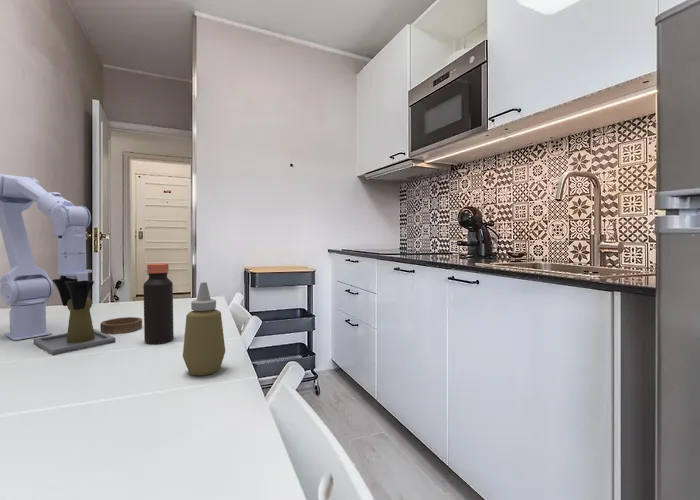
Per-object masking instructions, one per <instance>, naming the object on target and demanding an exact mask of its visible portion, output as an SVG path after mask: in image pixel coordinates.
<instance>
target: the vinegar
mask: <svg viewBox="0 0 700 500" xmlns="http://www.w3.org/2000/svg"><path fill="white" fill-rule="evenodd" d="M169 266H170V265H169V263H164V262H163V263H148V264H146V269H147V270H146V271H147V276H148V279H147V280H146V281H145V282H144V283H143V285H142V286H143V287H142V288H143V330H144V331H143V334H144V335H143V336H144V337H143V338H144V343H146V344H147V345H159V344H165V343H169V342H171V341H173V340H174V337H175V336H174V334H175V333H174V298H173V297H174V294H173V293H174V289H173V288H174V287H173V281H172V280H170V278H168V275H169Z"/></svg>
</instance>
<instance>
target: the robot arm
mask: <svg viewBox="0 0 700 500" xmlns="http://www.w3.org/2000/svg"><path fill="white" fill-rule="evenodd" d="M34 202H35V203H36V207H37V209H38V210H39V211H40V212H42V213H44V214H45V215H46V216H47V217H49V218H50V221H51V224H52V226H53V229H54V230H53V231H54V235H55V236H57V237H56V238H57V239H56V240H57V272H56V273H57V276H58V277H59V278H55V279H50V276H49V275H48V271H47V270H45V269H43V268H41V267H38V266H37V265H36V263H35V259H34V256H33V252H32V251H33V250H32V248H31V247H32V246H31V244H30V240H29V237H28V233H27V229H26V226H25V222H24V218H23V211H26V210H28V209H30V208H31V206H32V205H33V203H34ZM91 222H92V216H91V212H90V210H89V209H88V208H87V207H86V206H84V205H79V206H76V204H74V203H73V202H72V201H70V200H67V199H66V198H64V197H62V194H61V193H60V192H57V191H52V192H48V191H47V190H45V188H44V187H42V186H41V184H40V181H39V179H36V178H35V177H32V176H30V177H27V176H19V175H12V174H11V175H10V174H4V173H3V174H2V173H0V232H1V237H2V240H3V244H4V249H5V251H6V256H7V258H8V262H9V263H8V264H9V266H10V270H8V271H7V272H6V273H5V274H3V275H2V276H1V277H0V297H1V299H2V300H3V302H5V304H6V305H9V306H10V310H9V332H5V336H7V337H8V338H10V339H11V340H12V341H19V340H25V339H31V338H39V337H45V336H51V335H53V334H52V331H50V330H48V329H47V312H46V311H47V307H46V302H49V299H50V298H51V297H53V294H54V292H55V291H54V289H55V287H54V285H55V286H56V289H57V291H58V293H59V296H60V299H61V300H60V301H61V303H62V306H63V307H67V303H68V301H69V300H70V299H71V301H72V306H73V309H74V310H78V309H84V308H85V305H86V301H87V297H89V293H90V290H91V289H92V287H93V285H94V283H95V281H94V280H89V274H92V273H93V272H92V271H93V270H92V269H87V237H86V236H87V234H86V230H87V229H88V228H89V226H90V224H91Z"/></svg>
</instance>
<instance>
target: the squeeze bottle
mask: <svg viewBox="0 0 700 500" xmlns="http://www.w3.org/2000/svg"><path fill="white" fill-rule="evenodd" d="M196 297H197V298H196V299H193V300H192V301H191V302H190V306H191V311H189V312H188V313H187V314H186V315H185V317H186V318H185V328H184V338H183V347H182V348H183V350H182V359H183V361H184V363H185V366H186V368H187V371H188V373H189V375H192V376H200V377H201V376H208V375H212V374H215V373H217V372H218V371H220V370H221V366H222V364H223V361H224V357H225V354H226V344H225V336H224V327H223V320H222V312H221V311H220V310H218V309H217V300H216V299H212V298H211V295H210V291H209V286H208V283H207V282H205V281H203V282H200V284H199V288H198V293H197V296H196Z"/></svg>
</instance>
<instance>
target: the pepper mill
mask: <svg viewBox="0 0 700 500" xmlns="http://www.w3.org/2000/svg"><path fill="white" fill-rule="evenodd" d="M66 307H67V309H68V310H69V318H68V325H67V326H68V327H67V332H66V333H67V341H66V342H67V343H81V342H86V341H90V340H93V339H95V335H94V330H93V329H94V325H93V320H92V315H91V308H92V307H93V302H92V299H91V298H90V297H89V296H87V301H86V305H85V308H84V309H78V310H74V309H73V306H72V301H71V299H70V300H69V301H68V303H67V306H66Z"/></svg>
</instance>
